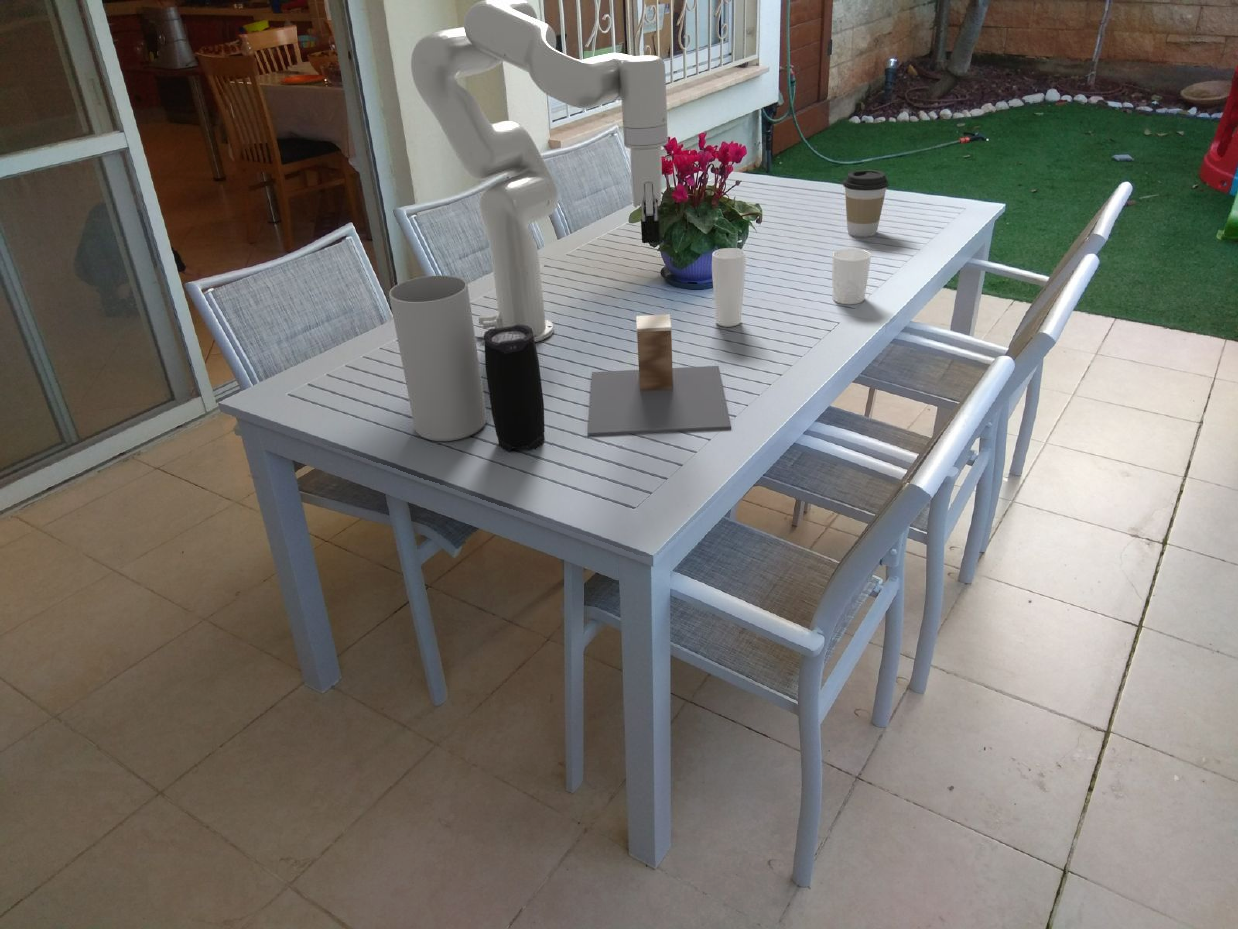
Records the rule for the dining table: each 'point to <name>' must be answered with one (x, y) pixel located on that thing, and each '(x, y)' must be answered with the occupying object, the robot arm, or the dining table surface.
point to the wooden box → (654, 352)
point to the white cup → (850, 275)
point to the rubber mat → (657, 403)
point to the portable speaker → (515, 387)
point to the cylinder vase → (439, 356)
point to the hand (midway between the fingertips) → (650, 241)
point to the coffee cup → (864, 201)
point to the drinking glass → (728, 285)
